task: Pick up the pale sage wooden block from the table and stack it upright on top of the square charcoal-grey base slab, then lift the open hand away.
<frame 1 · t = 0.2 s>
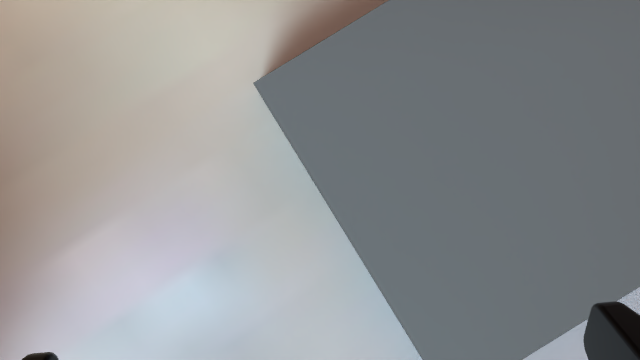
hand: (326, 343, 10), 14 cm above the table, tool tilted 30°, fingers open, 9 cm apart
base slab: (492, 147, 24), on the table
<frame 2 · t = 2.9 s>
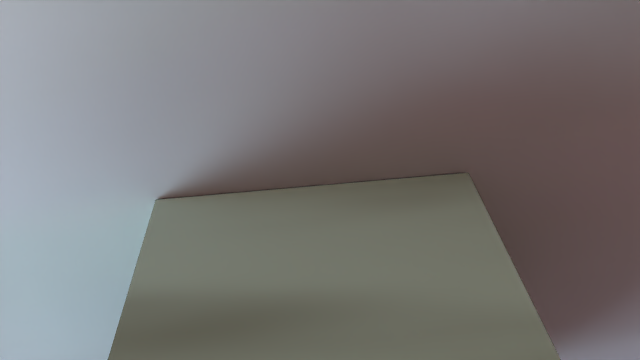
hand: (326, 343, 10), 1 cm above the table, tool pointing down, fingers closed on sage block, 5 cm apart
sage block: (322, 299, 11), on the table, touching gripper
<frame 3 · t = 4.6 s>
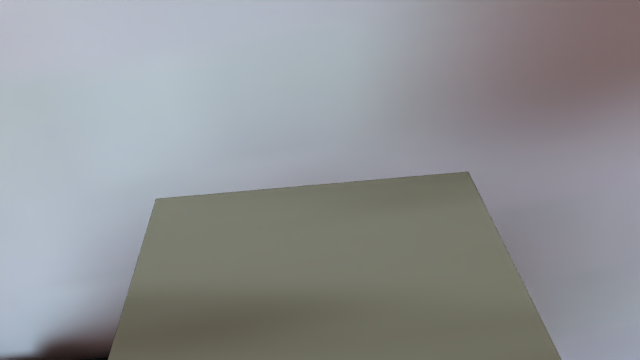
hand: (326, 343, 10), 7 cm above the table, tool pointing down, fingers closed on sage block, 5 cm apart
sage block: (322, 298, 11), point 6 cm above the table, touching gripper
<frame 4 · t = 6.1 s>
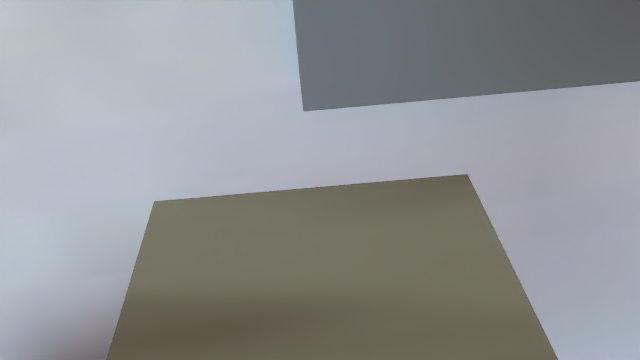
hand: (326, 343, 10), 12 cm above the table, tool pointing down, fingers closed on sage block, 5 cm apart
sage block: (321, 300, 11), point 10 cm above the table, touching gripper
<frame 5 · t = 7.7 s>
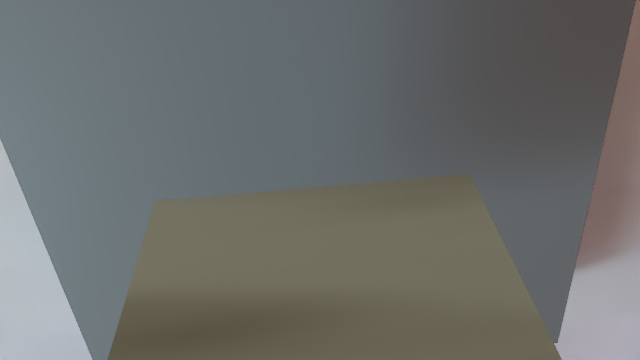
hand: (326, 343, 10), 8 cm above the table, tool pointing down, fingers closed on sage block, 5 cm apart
sage block: (322, 301, 11), point 7 cm above the table, touching gripper
base slab: (310, 122, 16), on the table
when the fingers open (5 cm above the table, at t = 9.1 s): sage block drops 1 cm, resting on base slab.
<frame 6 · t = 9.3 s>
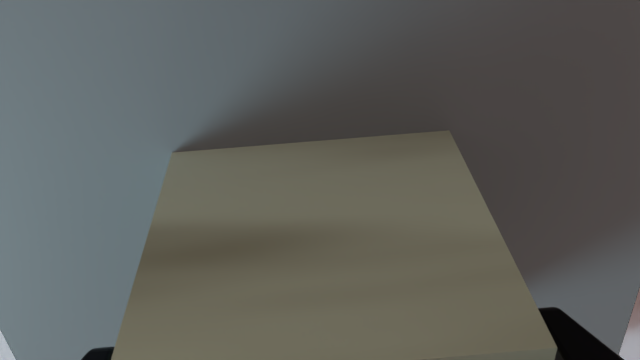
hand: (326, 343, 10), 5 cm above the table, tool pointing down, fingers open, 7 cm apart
sage block: (319, 248, 12), point 2 cm above the table, touching base slab
base slab: (313, 179, 14), on the table
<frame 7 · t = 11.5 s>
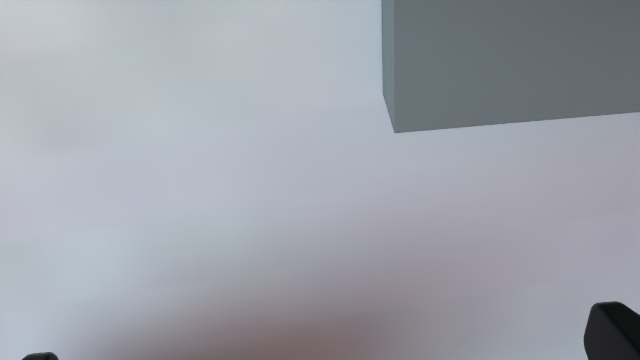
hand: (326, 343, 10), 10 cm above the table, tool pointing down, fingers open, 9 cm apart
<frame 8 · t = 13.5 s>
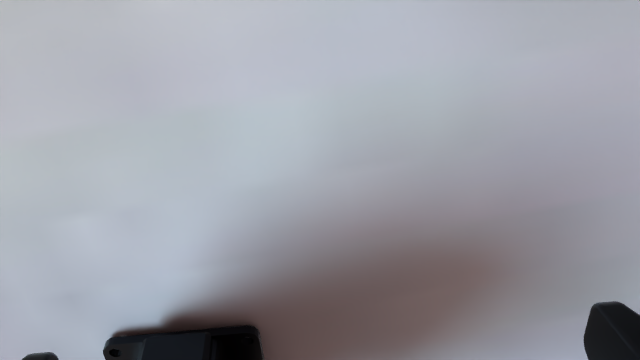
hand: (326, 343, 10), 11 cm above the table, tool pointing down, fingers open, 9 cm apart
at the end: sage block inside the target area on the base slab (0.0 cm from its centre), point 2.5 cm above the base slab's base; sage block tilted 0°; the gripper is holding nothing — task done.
